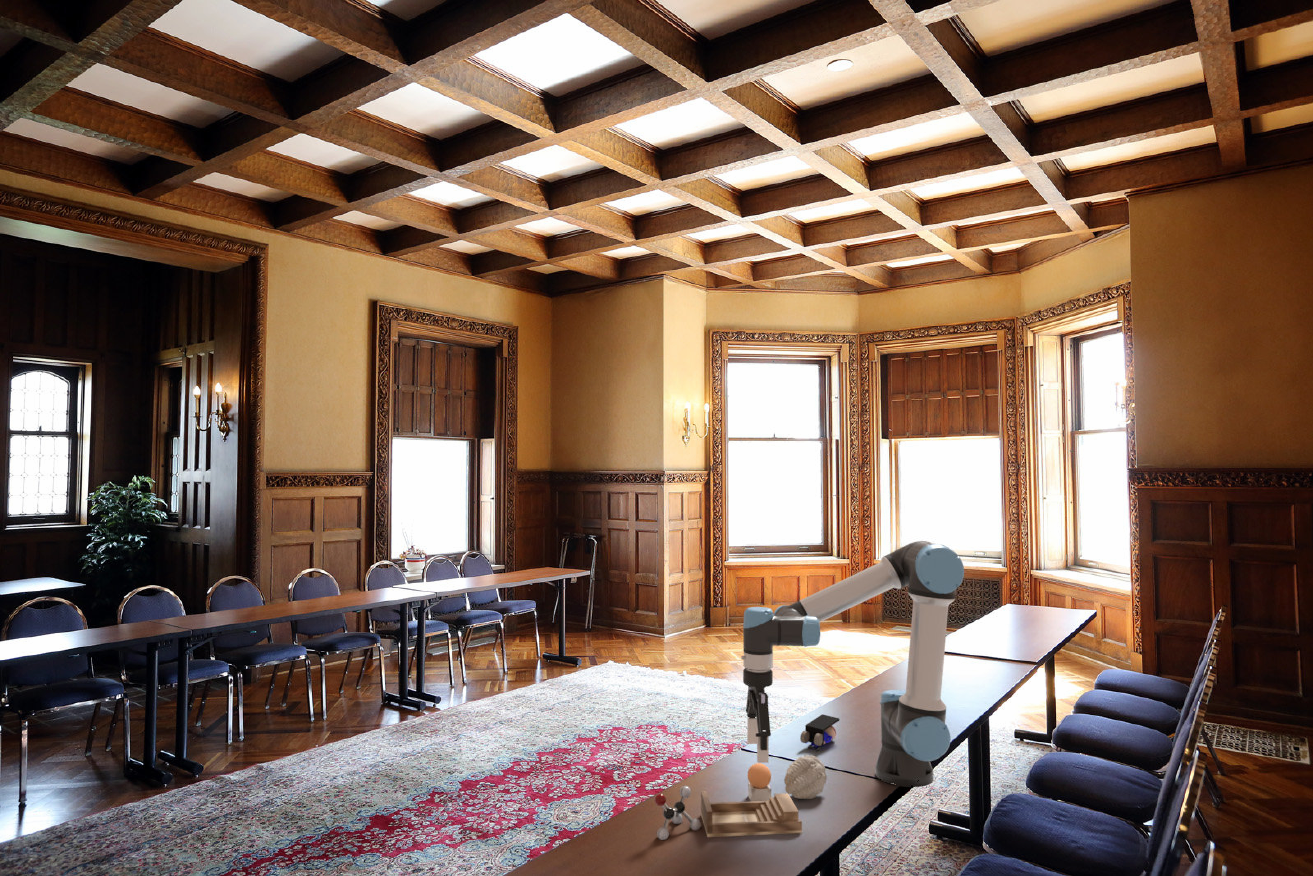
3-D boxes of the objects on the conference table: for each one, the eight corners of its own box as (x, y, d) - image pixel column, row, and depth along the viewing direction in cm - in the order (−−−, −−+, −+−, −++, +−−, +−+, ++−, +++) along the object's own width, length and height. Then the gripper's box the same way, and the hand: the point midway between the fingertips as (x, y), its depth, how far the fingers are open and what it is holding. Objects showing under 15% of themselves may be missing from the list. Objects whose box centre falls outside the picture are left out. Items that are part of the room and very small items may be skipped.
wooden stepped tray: (790, 813, 196) (789, 787, 197) (802, 835, 184) (801, 808, 185) (701, 816, 195) (700, 790, 195) (707, 839, 183) (707, 811, 183)
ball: (768, 782, 207) (768, 759, 207) (773, 792, 201) (773, 768, 201) (745, 783, 207) (745, 760, 207) (749, 793, 201) (749, 768, 201)
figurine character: (820, 759, 237) (841, 739, 248) (818, 734, 236) (840, 715, 248) (800, 754, 241) (822, 735, 253) (798, 729, 240) (820, 711, 252)
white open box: (767, 796, 207) (767, 781, 207) (771, 804, 202) (771, 789, 202) (748, 797, 206) (748, 782, 206) (751, 805, 201) (751, 790, 201)
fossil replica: (793, 807, 200) (792, 767, 200) (776, 795, 207) (775, 756, 208) (834, 800, 204) (833, 760, 204) (815, 788, 212) (815, 749, 212)
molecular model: (703, 830, 188) (702, 784, 188) (671, 849, 179) (670, 800, 179) (676, 820, 193) (675, 775, 193) (643, 838, 184) (643, 791, 184)
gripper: (735, 657, 217) (735, 736, 217) (752, 681, 192) (752, 771, 192) (762, 657, 218) (762, 736, 217) (783, 681, 193) (782, 770, 192)
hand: (757, 752), depth 204 cm, fingers open, 13 cm apart
